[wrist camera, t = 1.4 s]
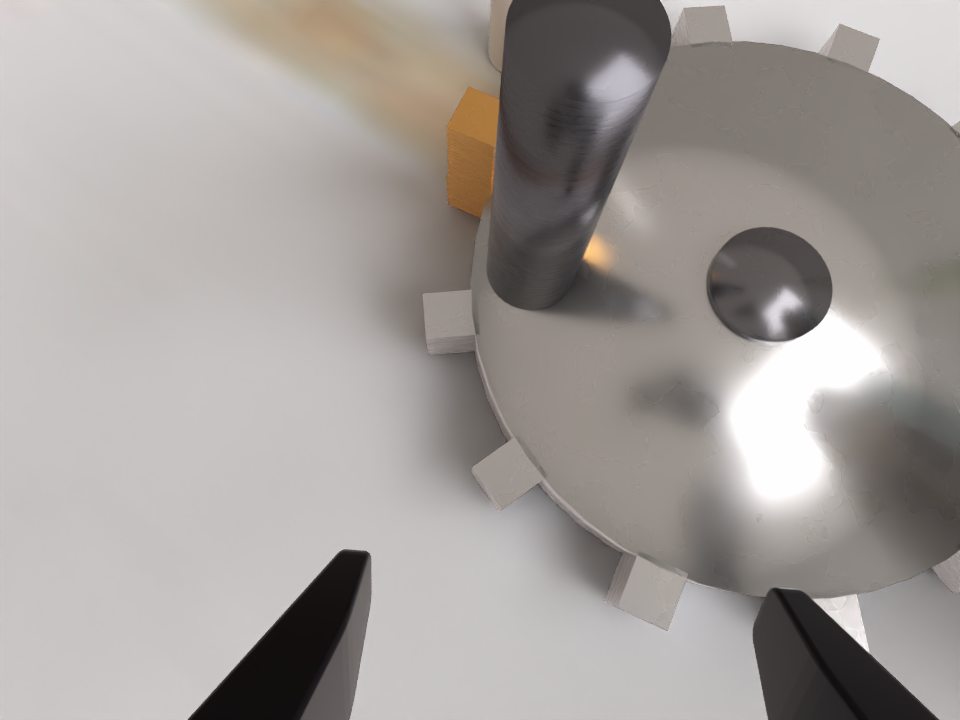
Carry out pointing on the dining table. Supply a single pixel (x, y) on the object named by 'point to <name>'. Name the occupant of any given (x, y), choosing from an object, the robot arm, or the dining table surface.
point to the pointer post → (497, 31)
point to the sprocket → (714, 303)
